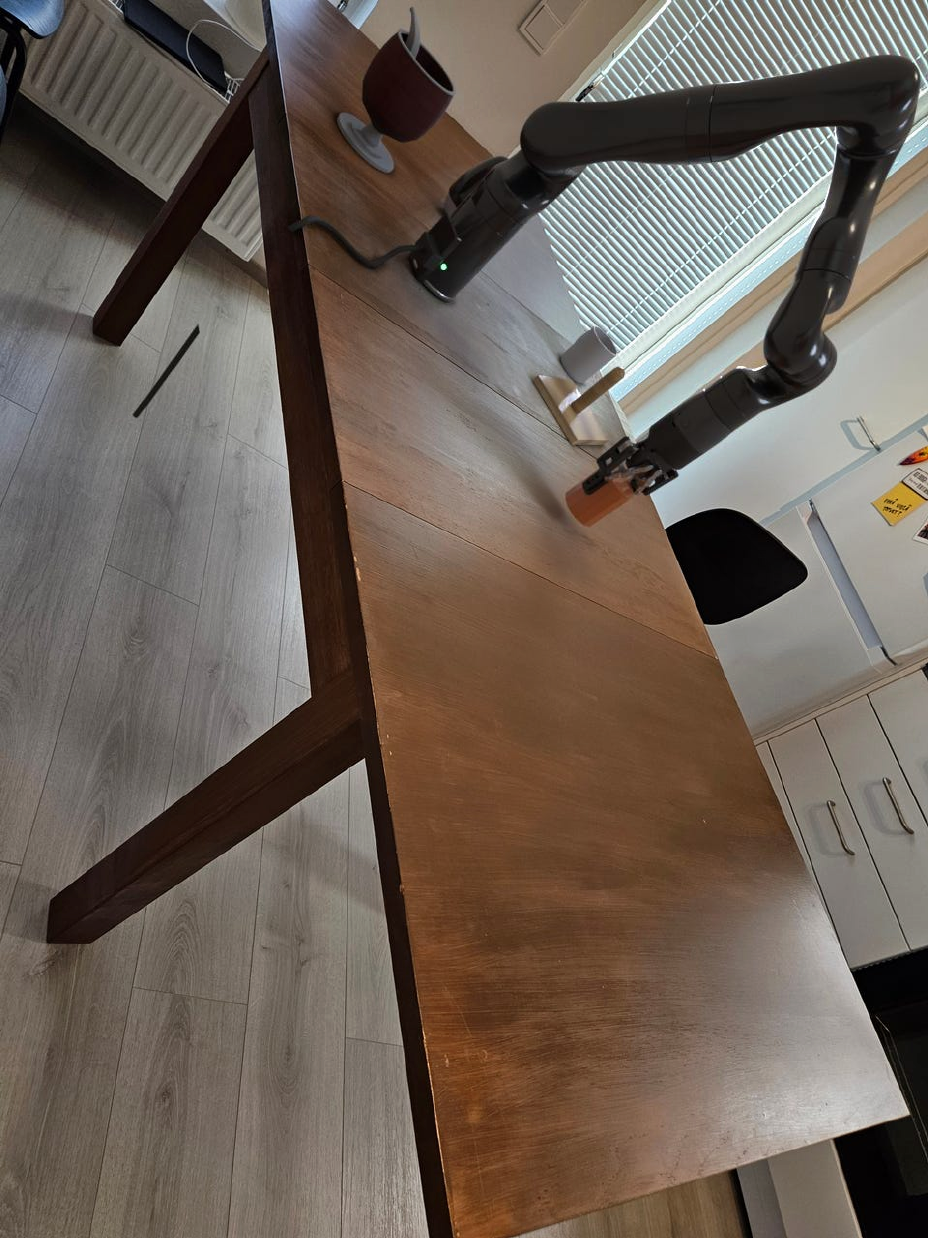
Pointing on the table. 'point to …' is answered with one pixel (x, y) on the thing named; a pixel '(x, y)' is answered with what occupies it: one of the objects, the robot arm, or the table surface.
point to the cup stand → (577, 406)
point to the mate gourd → (398, 97)
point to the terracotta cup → (598, 500)
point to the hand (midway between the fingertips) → (598, 495)
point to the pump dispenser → (469, 183)
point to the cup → (588, 354)
